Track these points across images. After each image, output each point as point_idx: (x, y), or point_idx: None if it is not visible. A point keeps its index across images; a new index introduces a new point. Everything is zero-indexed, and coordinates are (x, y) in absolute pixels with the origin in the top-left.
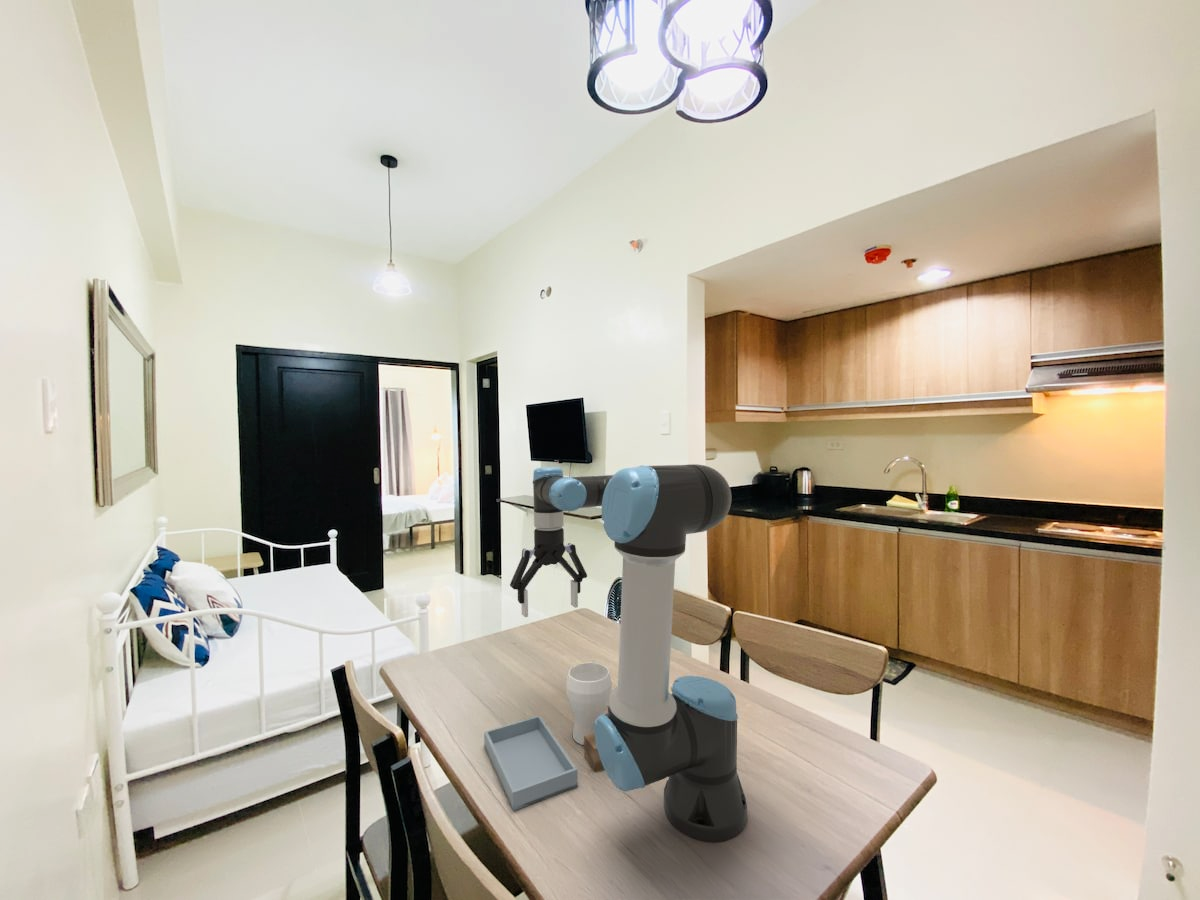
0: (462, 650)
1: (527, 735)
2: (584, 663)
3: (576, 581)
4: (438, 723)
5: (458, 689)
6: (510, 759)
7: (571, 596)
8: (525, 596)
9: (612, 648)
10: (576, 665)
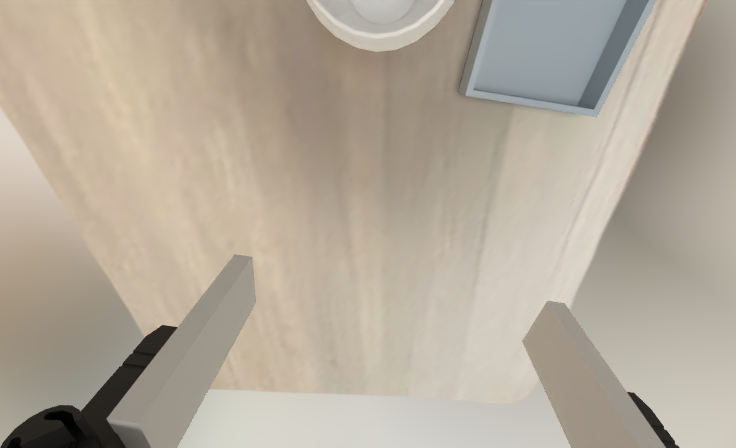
0: (414, 384)
1: (497, 81)
2: (350, 27)
3: (111, 435)
4: (579, 232)
5: (487, 299)
6: (584, 18)
7: (232, 336)
8: (655, 437)
9: (173, 261)
10: (386, 33)
